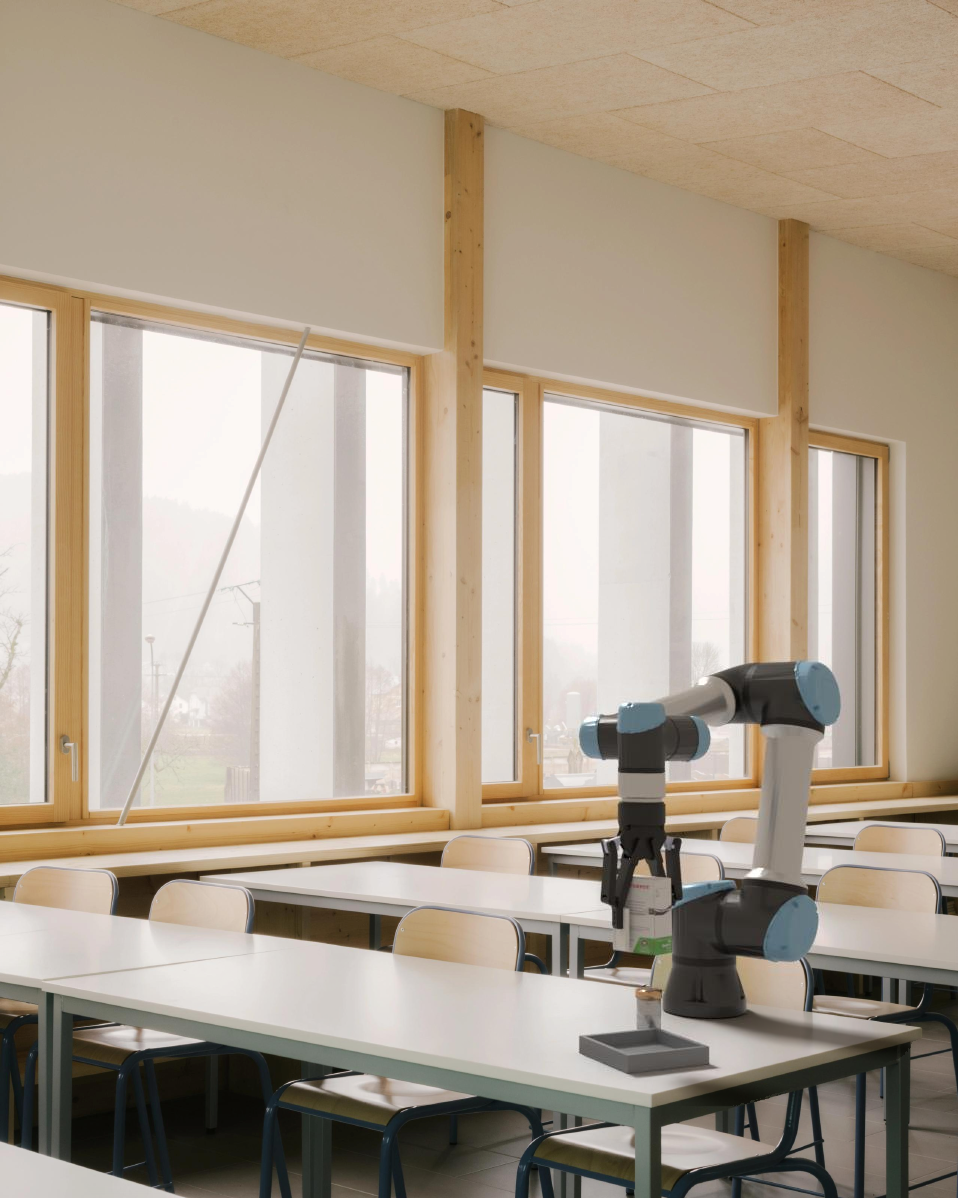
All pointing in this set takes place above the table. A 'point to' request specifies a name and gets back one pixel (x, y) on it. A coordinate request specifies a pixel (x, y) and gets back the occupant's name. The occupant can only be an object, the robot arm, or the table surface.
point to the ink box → (649, 915)
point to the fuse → (648, 1007)
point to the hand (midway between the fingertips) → (642, 948)
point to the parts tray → (643, 1050)
